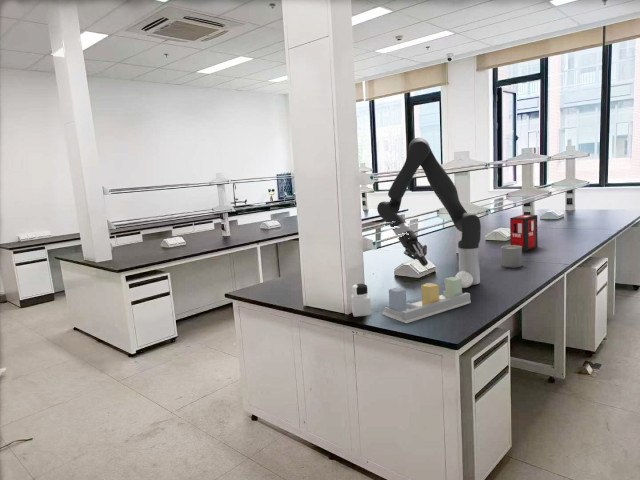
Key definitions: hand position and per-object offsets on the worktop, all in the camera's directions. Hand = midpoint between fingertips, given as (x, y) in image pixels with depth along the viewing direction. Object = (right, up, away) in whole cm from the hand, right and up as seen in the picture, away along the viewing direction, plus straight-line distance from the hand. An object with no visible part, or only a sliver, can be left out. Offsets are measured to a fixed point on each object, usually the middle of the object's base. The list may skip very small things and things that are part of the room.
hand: (425, 264), depth 200 cm
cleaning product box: (+81, +6, +83) cm, 116 cm away
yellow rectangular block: (-2, -16, -18) cm, 24 cm away
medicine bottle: (-30, -19, -15) cm, 38 cm away
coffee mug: (+58, -3, +45) cm, 73 cm away
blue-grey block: (-16, -17, -20) cm, 31 cm away
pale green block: (+9, -14, -11) cm, 20 cm away
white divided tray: (-3, -17, -16) cm, 23 cm away
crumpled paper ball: (+20, -11, +10) cm, 25 cm away
